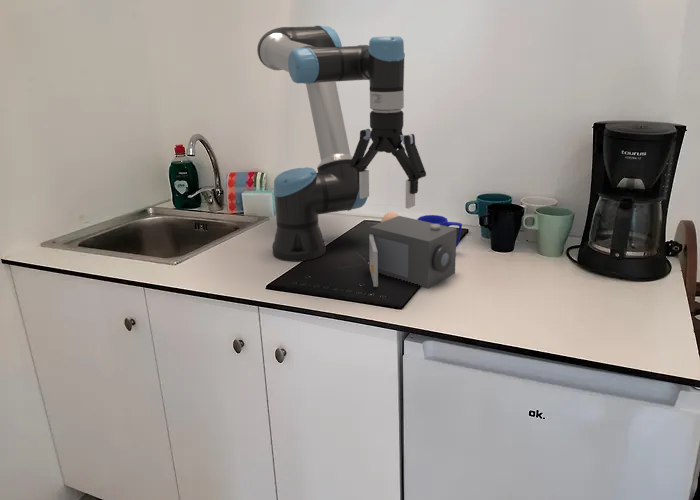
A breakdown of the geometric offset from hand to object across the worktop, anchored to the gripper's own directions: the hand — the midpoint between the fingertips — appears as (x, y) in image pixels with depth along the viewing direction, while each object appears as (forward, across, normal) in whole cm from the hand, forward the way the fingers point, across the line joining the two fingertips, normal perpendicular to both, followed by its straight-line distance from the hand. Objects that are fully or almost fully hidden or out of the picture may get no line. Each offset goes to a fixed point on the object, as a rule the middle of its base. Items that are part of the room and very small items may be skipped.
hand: (386, 202), depth 135 cm
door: (+20, -3, -2) cm, 20 cm away
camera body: (+20, +2, +9) cm, 22 cm away
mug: (+21, 0, +24) cm, 32 cm away
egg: (+21, -19, +27) cm, 39 cm away
